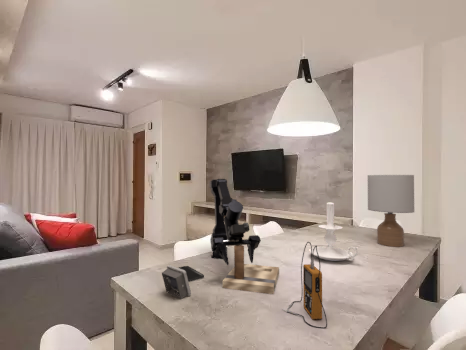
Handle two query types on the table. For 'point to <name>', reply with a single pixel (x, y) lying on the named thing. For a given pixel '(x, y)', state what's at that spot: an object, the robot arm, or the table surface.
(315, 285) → the multimeter
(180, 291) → the electrical switch
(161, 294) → the table surface
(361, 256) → the table surface
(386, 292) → the table surface
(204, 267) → the table surface
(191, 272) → the phone
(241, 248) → the brown round-topped cylinder
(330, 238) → the candlestick
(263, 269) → the board
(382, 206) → the lamp
